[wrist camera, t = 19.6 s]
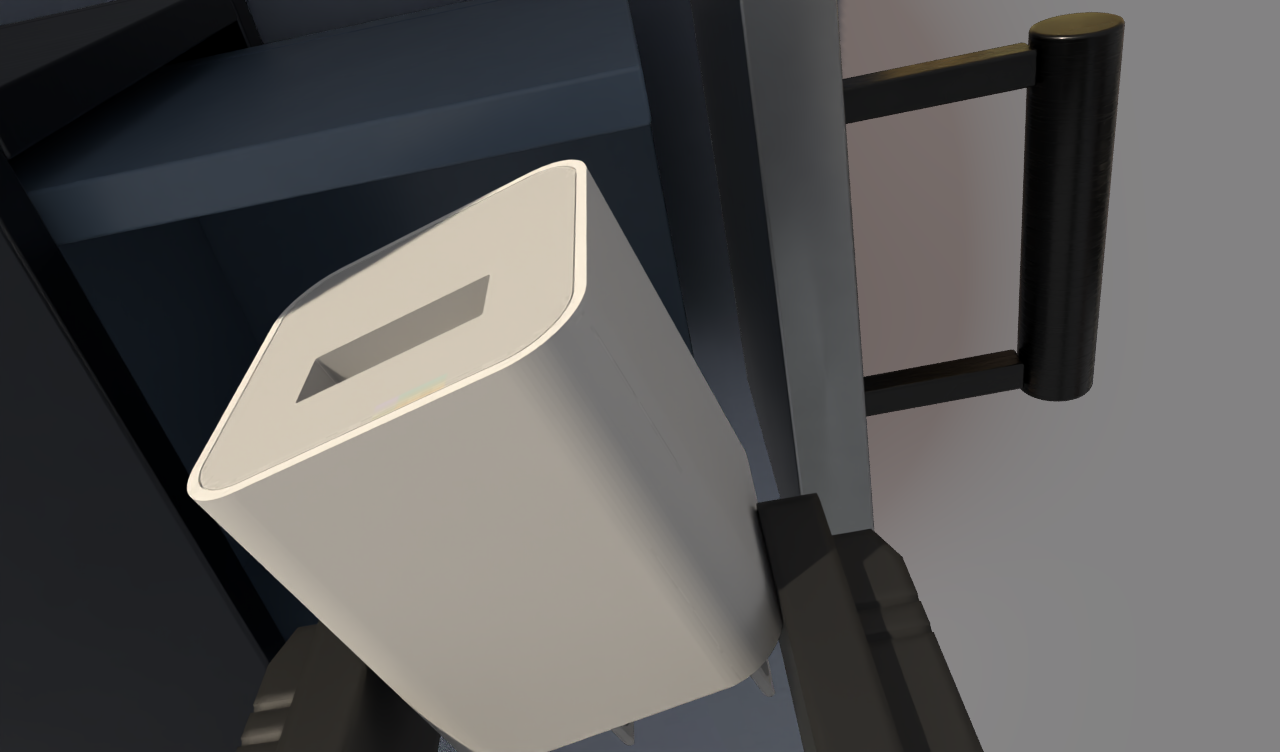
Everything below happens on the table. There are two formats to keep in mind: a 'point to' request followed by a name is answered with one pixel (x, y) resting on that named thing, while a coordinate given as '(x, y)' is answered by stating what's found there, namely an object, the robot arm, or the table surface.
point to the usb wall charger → (503, 477)
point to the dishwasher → (104, 450)
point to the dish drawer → (623, 171)
